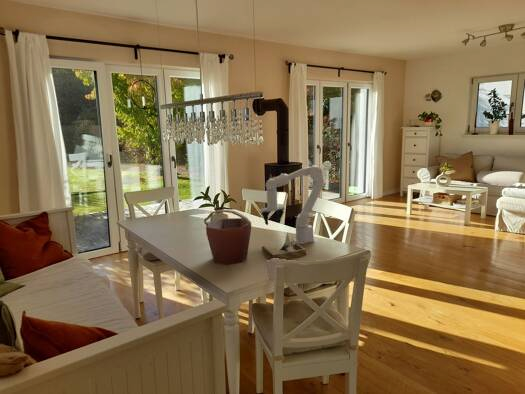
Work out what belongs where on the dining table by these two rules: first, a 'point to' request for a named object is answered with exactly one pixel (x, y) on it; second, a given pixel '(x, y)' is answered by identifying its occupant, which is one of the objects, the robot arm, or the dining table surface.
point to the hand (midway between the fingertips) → (272, 223)
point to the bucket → (228, 238)
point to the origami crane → (286, 245)
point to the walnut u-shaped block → (296, 252)
